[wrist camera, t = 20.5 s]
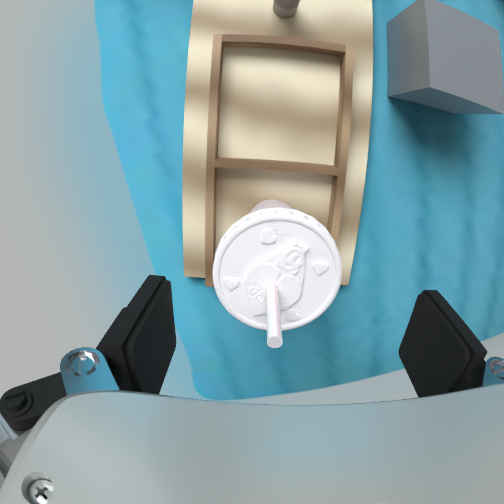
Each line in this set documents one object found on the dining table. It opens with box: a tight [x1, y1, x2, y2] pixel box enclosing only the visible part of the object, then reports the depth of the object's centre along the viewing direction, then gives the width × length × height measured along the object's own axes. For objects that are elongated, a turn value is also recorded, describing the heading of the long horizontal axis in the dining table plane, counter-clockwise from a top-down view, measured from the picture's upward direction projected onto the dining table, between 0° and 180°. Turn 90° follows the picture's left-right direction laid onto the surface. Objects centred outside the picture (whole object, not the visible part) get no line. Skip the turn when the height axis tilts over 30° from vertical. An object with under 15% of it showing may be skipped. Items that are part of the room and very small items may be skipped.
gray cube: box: [387, 0, 504, 114], centre depth 16 cm, size 7×7×7 cm
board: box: [183, 0, 373, 287], centre depth 19 cm, size 28×14×5 cm, turn 177°
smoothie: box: [213, 199, 342, 348], centre depth 17 cm, size 6×6×14 cm
